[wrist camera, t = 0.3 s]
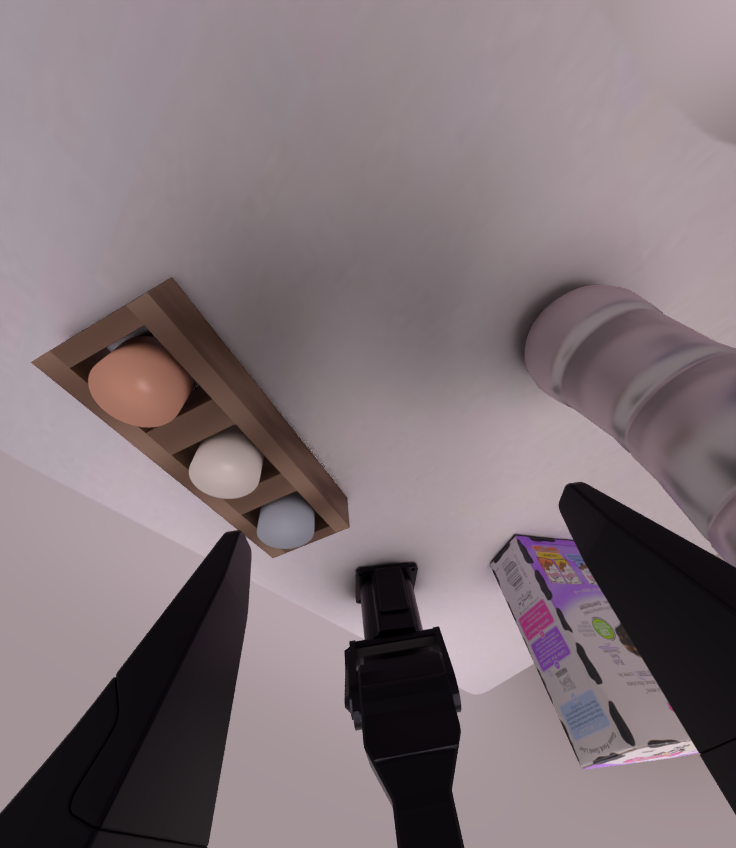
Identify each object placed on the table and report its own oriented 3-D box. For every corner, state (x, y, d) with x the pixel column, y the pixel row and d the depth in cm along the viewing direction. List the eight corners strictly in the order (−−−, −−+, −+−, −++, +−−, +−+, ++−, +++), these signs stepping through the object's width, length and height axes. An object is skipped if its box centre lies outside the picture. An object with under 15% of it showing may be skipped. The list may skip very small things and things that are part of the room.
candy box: (486, 564, 37) (578, 774, 24) (514, 532, 34) (637, 752, 21) (582, 572, 41) (707, 757, 28) (615, 543, 38) (774, 736, 25)
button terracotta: (211, 383, 19) (198, 407, 17) (156, 412, 20) (137, 438, 18) (156, 322, 17) (134, 341, 15) (96, 357, 17) (67, 380, 15)
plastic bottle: (633, 282, 20) (1899, 679, 4) (577, 381, 24) (1109, 787, 8) (538, 269, 19) (1774, 746, 3) (495, 375, 23) (920, 835, 7)
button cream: (276, 457, 23) (272, 483, 21) (228, 479, 23) (220, 506, 21) (239, 415, 21) (230, 440, 18) (187, 440, 21) (173, 467, 19)
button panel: (347, 498, 28) (349, 527, 26) (276, 527, 29) (272, 558, 27) (171, 277, 17) (147, 292, 15) (69, 338, 18) (30, 362, 16)
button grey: (324, 509, 26) (324, 536, 24) (281, 527, 27) (278, 555, 25) (296, 479, 24) (294, 505, 22) (250, 499, 25) (244, 527, 23)
